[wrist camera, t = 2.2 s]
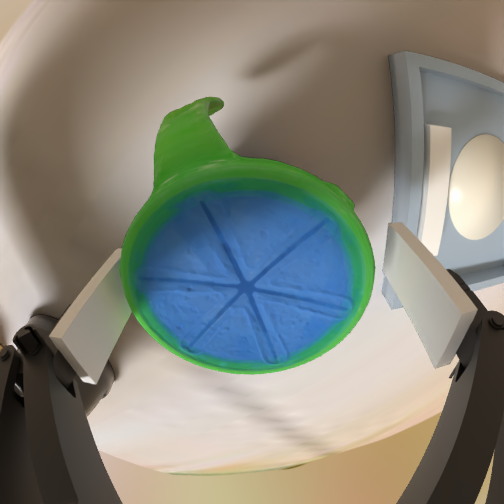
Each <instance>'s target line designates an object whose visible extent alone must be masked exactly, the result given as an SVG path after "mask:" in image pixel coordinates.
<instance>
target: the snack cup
mask: <svg viewBox="0 0 504 504" xmlns="http://www.w3.org/2000/svg"><path fill="white" fill-rule="evenodd" d="M223 106H224V102H223V101H222V100H221V99H220V98H217V97H206V98H203V99H199V100H196V101H194V102H193V103H192V104H188V105H186V106H184V107H182V108H180V109H177V110H174V111H172V112H170V113H169V114H167V116H166V117H165V118H164V120H163V122H162V124H161V126H160V129H159V132H158V134H157V139H156V144H155V153H154V183H153V184H154V188H153V192H152V194H151V196H150V198H149V200H148V201H147V202H146V203H145V204H144V206H143V207H142V208H141V210H140V211H139V212H138V214H137V215H136V216H135V218H134V220H133V222H132V223H131V225H130V227H129V229H128V231H127V234H126V236H125V239H124V242H123V246H122V251H121V260H120V262H119V273H120V278H121V281H122V286H123V290H124V294H125V297H126V300H127V302H128V304H129V307H130V309H131V311H132V312H133V314H134V316H135V317H136V319H137V320H138V322H139V323H140V324H141V326H142V327H143V328H144V329H145V330H146V331H147V333H148V334H149V335H150V336H151V337H152V338H153V339H154V340H156V341H157V342H158V343H159V344H161V345H162V346H163V347H164V348H166V349H167V350H169V351H170V352H172V353H173V354H175V355H177V356H179V357H180V358H182V359H184V360H186V361H189V362H191V363H193V364H196V365H198V366H202V367H204V368H207V369H211V370H216V371H220V372H226V373H232V374H265V373H273V372H279V371H283V370H287V369H290V368H294V367H297V366H300V365H302V364H305V363H307V362H309V361H312V360H314V359H316V358H318V357H320V356H322V355H323V354H324V353H326V352H328V351H329V350H331V349H332V348H333V347H335V346H336V345H337V344H339V343H340V342H341V341H342V340H343V339H344V338H345V337H346V336H347V335H348V334H349V333H350V332H351V331H352V329H353V328H354V327H355V326H356V324H357V322H358V321H359V320H360V318H361V317H362V315H363V313H364V311H365V308H366V307H367V305H368V302H369V300H370V297H371V293H372V289H373V283H374V274H375V261H374V256H373V251H372V247H371V243H370V241H369V238H368V235H367V233H366V231H365V229H364V227H363V225H362V223H361V221H360V220H359V218H358V217H357V215H356V214H355V212H354V203H353V202H352V201H351V200H350V198H349V197H348V196H347V195H346V194H345V193H344V192H343V191H342V190H341V189H340V188H339V187H338V186H337V185H335V184H333V183H328V182H324V181H322V180H321V179H319V178H318V177H316V176H314V175H312V174H310V173H308V172H306V171H305V170H302V169H299V168H297V167H294V166H291V165H288V164H286V163H283V162H279V161H275V160H270V159H262V158H247V157H241V156H239V155H237V154H236V153H234V152H233V151H232V150H231V149H230V148H229V147H228V146H227V144H226V143H225V141H224V140H223V138H222V137H221V136H220V134H219V133H218V131H217V129H216V128H215V126H214V124H213V123H212V121H211V119H210V117H209V116H210V115H212V114H214V113H215V112H217V111H219V110H220V109H222V108H223Z"/></svg>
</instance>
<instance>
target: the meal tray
mask: <svg viewBox="0 0 504 504" xmlns="http://www.w3.org/2000/svg"><path fill="white" fill-rule="evenodd" d="M388 57H389V65H390V72H391V81H392V91H393V103H394V120H395V184H394V202H393V215H392V223H397V222H402V223H403V224H404V225H405V226H406V227H407V228H408V229H409V230H410V231H411V232H412V233H413V234H414V235H415V236H416V237H417V238H418V239H419V240H420V241H421V242H422V244H423V245H424V246H425V247H426V248H427V249H428V250H429V251H430V252H431V253H432V254H433V255H434V257H435V258H436V259H437V260H438V261H439V262H440V263H441V264H442V266H443V267H444V268H445V269H451V270H452V271H454V272H455V273H457V274H458V275H459V276H460V277H461V278H462V279H463V280H464V282H465V284H467V285H468V286H469V288H470V290H472V291H476V290H480V289H483V288H487V287H490V286H494V285H497V284H500V283H504V82H501V81H499V80H497V79H495V78H492V77H490V76H488V75H485V74H483V73H480V72H478V71H475V70H472V69H470V68H467V67H464V66H461V65H458V64H455V63H452V62H449V61H445V60H442V59H438V58H435V57H431V56H427V55H423V54H419V53H415V52H410V51H401V52H398V53H395V54H392V55H389V56H388ZM382 293H383V295H384V297H385V299H386V300H387V302H388V304H389V306H390V308H391V310H392V309H397V308H402V307H403V305H402V303H401V301H400V300H399V298H398V296H397V294H396V293H395V291H394V289H393V288H392V286H391V284H390V282H389V281H388V279H387V277H386V276H385V277H384V283H383V289H382Z"/></svg>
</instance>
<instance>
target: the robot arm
mask: <svg viewBox="0 0 504 504" xmlns="http://www.w3.org/2000/svg"><path fill="white" fill-rule="evenodd" d="M121 251H122V248H118V249H116V250H115V251H114V252H113V254H112V255H111V256H110V257H109V258H108V259H107V261H106V262H105V263H104V264H103V265H102V266H101V268H100V269H99V270H98V271H97V272H96V274H95V275H94V276H93V277H92V279H91V280H90V281H89V282H88V284H87V285H86V286H85V287H84V289H83V290H82V291H81V293H80V294H79V295H78V296H77V298H76V299H75V300H74V302H73V303H71V304H70V305H69V306H68V308H67V309H66V310H65V312H64V314H62V316H61V317H60V318H59V320H57V319H55V318H52V317H49V316H45V315H35V316H33V317H32V318H31V319H30V320H29V321H28V323H27V324H26V326H24V327H22V328H21V329H20V330H19V331H18V332H17V333H16V334H15V336H14V338H13V342H14V343H15V345H16V346H17V347H18V349H17V350H16V349H15V348H14V346H12V345H8V346H6V347H4V348H2V349H1V351H0V504H122V502H121V500H120V498H119V496H118V494H117V492H116V490H115V488H114V486H113V484H112V482H111V480H110V478H109V475H108V473H107V471H106V469H105V467H104V464H103V462H102V459H101V457H100V455H99V452H98V449H97V446H96V444H95V441H94V438H93V435H92V432H91V430H90V426H89V423H88V420H87V416H88V415H89V414H90V413H91V412H92V410H93V409H94V408H95V407H96V405H97V404H98V403H99V401H100V400H101V399H102V398H104V397H106V396H107V395H108V393H109V391H110V389H111V386H112V384H113V381H114V372H113V369H112V367H111V365H110V363H109V362H108V358H109V356H110V354H111V352H112V350H113V348H114V346H115V344H116V342H117V340H118V338H119V336H120V334H121V332H122V330H123V328H124V326H125V324H126V323H127V321H128V319H129V317H130V315H131V313H132V311H131V309H130V307H129V304H128V302H127V300H126V297H125V294H124V290H123V286H122V281H121V278H120V273H119V262H120V260H121ZM382 271H383V272H384V274H385V276H386V277H387V279H388V281H389V282H390V284H391V286H392V288H393V289H394V291H395V293H396V294H397V296H398V298H399V300H400V301H401V303H402V305H403V307H404V309H405V310H406V312H407V314H408V316H409V318H410V320H411V321H412V323H413V325H414V327H415V329H416V331H417V333H418V335H419V337H420V339H421V341H422V343H423V345H424V347H425V349H426V351H427V353H428V355H429V357H430V360H431V362H432V364H433V366H434V368H435V369H436V368H439V367H442V366H445V365H448V364H450V363H451V361H452V360H453V358H454V356H455V354H457V356H458V358H459V362H458V363H457V365H456V367H455V368H454V370H453V372H452V373H451V375H450V377H449V378H452V376H453V375H454V377H453V380H452V384H451V387H450V390H449V393H448V396H447V399H446V402H445V405H444V408H443V411H442V414H441V416H440V419H439V422H438V424H437V427H436V429H435V431H434V434H433V437H432V439H431V441H430V443H429V445H428V447H427V450H426V452H425V454H424V456H423V458H422V460H421V462H420V464H419V466H418V468H417V470H416V472H415V473H414V475H413V477H412V479H411V481H410V482H409V484H408V486H407V487H406V489H405V491H404V492H403V494H402V496H401V497H400V499H399V500H398V502H397V503H396V504H474V503H475V501H476V499H477V496H478V494H479V492H480V489H481V487H482V484H483V482H484V479H485V477H486V474H487V471H488V468H489V465H490V462H491V459H492V456H493V452H494V460H493V467H492V474H491V480H490V485H489V491H488V495H487V499H486V503H485V504H504V315H502V314H501V313H499V312H497V311H487V309H486V308H485V307H484V305H483V304H482V303H481V301H480V300H479V299H478V298H477V296H476V295H475V294H474V292H473V291H472V290H470V288H469V286H468V285H467V284H465V282H464V280H463V279H462V278H461V277H460V276H459V275H458V274H457V273H455V272H454V271H452V270H451V269H445V268H444V267H443V266H442V264H441V263H440V262H439V261H438V260H437V259H436V258H435V257H434V255H433V254H432V253H431V252H430V251H429V250H428V249H427V248H426V247H425V246H424V245H423V244H422V242H421V241H420V240H419V239H418V238H417V237H416V236H415V235H414V234H413V233H412V232H411V231H410V230H409V229H408V228H407V227H406V226H405V225H404V224H403V223H402V222H397V223H388V231H387V241H386V249H385V256H384V263H383V270H382ZM494 449H495V451H494Z"/></svg>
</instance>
